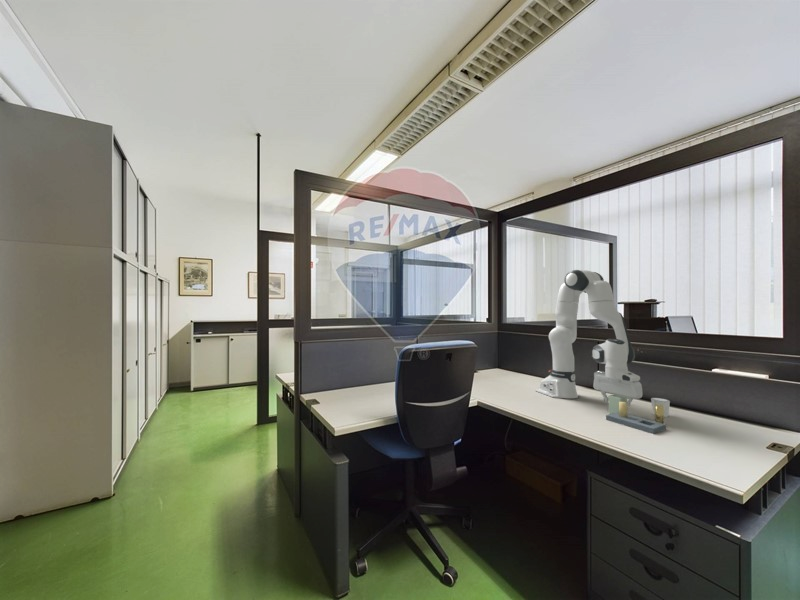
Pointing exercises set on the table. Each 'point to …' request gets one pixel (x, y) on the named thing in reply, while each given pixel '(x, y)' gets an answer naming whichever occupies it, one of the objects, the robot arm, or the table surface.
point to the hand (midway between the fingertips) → (616, 403)
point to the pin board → (634, 420)
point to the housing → (615, 402)
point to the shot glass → (661, 402)
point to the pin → (659, 413)
